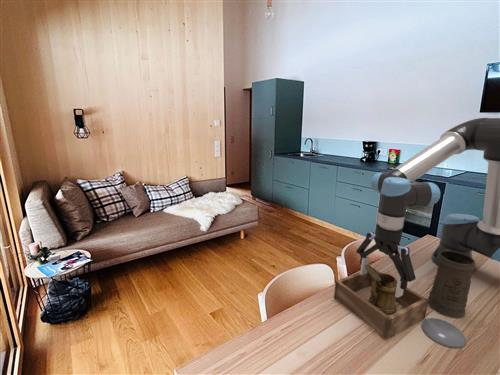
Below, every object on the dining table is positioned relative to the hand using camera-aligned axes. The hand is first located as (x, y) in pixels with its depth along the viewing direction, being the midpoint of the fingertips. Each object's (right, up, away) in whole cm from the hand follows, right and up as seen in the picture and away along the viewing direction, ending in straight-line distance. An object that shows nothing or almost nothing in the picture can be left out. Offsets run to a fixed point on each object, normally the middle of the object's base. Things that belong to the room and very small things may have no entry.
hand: (379, 284), depth 91 cm
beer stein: (+25, -9, +5) cm, 27 cm away
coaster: (+15, -12, -8) cm, 21 cm away
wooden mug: (0, -9, +3) cm, 10 cm away
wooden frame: (0, -9, +3) cm, 9 cm away
